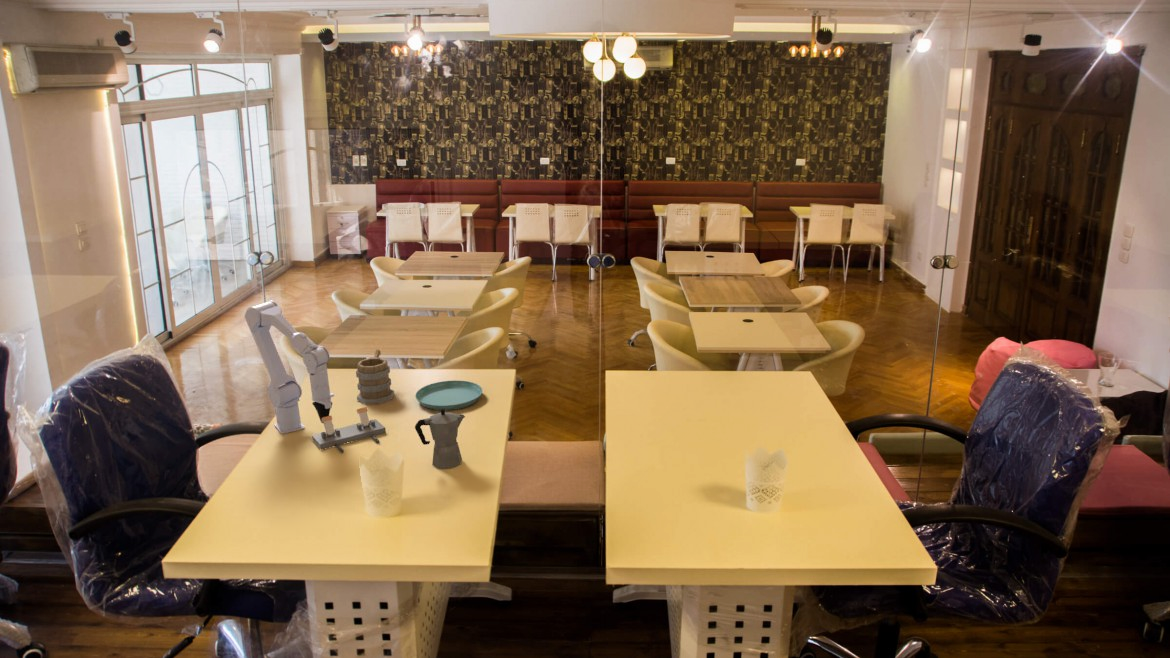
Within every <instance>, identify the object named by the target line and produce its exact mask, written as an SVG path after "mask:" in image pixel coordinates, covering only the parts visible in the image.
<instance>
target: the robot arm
mask: <svg viewBox="0 0 1170 658" xmlns="http://www.w3.org/2000/svg"><path fill="white" fill-rule="evenodd" d="M282 313H283V311H282V307H281V306H279V305H278V303H277V302H276V301H274V300H268V301H266V302H263V303H260V304H257V305H255V306H254V305H253V306H250V307H247V308H246V310H245V312H244V316H243V317H244V318H245V321H246V323H247V326H248V328H249V331H250V333H251V335H252V337H253V340H254V343H255V345H256V347H257V349H258V352H259V355H260V356H261V359H262V361H263V364H264V366H265V368H266V370H267V373H268V375H269V379H270V382H269V384H268V386H267V388H266V390H267V393H268V400H269V401H270V403H271V404H272V406H273V407H274V411H275V418H276V423H274V426H275V428H276V429H277V430H278V432H279V433H280V434H281V435H283V434H284V435H285V434H288V433H290V432H296V431H299V430H304V429H305V428H306V427H305V425H304V424H303V423H302V421H301V415H300V407H299V402H300V398H301V397H302V394H303V392H302V387H301V385H300V384H299V383H298V381H297V380H296V378H295V376H293V375H291V374H288V373H287V371H286V369H285V366H284V364H283V361H282V359H281V357H280V353H279V352H278V349H277V347H276V345H275V341H274V339H273V337H272V335H271V333H270V330H271V327H274V328H275V329H276V330H278V331H279V332H280V333H281V334H282V335H284V336H285V337H286V338H288V339H289V345H290V346H291V347H292V348H293V349H294V350H295V351H296V352H297V353H298V354H299V355H300V356H301V357H302V361H303V364H304V366H305V367H306V370H307V373H308V376H309V381H310V389H311V400H312V405H313V407H314V408H315V410H316V413H317V415H318V418H319V421H320V423H322V419H321V418H323V417H327V416H330V412H331V409H332V407H333V401H332V398H333V397H335V394H334V393H333V392H331V391H330V390H331V388H330V382H329V375H328V366H327V363H329V360H330V353H329V351H328V349H326V347H325V346H323V345H318V344H316V343H315V342H314V341H312V339H310V338H309V337H308V335H307V334H306V333H304V332H298V331H297V330H296V329H295V327H293V325H292V324H291V323H290V322H289V320H287V318H286V317H285V316H284V314H282Z"/></svg>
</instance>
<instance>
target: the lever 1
mask: <svg viewBox="0 0 1170 658" xmlns="http://www.w3.org/2000/svg"><path fill="white" fill-rule="evenodd" d="M321 419H322V422H321V424H323V426H324V430H325V432H326V434H327V437H328V436H332V435H335V432H334V430H335V428H334V425H333V417H332V415H329V416H327V417H323V418H321Z"/></svg>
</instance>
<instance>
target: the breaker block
mask: <svg viewBox="0 0 1170 658" xmlns="http://www.w3.org/2000/svg"><path fill="white" fill-rule="evenodd" d="M369 422H370V426H368V427H364V428H363V427H362V424H361V422H358V423H356V424H351V425H348V426H342V427H338V428H334V432H335V435H332V436H328V437H327V434H326V431H322V432H319V433H314V434H312V435H311V440H313V441H312V442H313V443H314V444H315V446H317V448H320V449H321V450H320V449H319V450H320V451H323V450H326V449H325V448H327V449H330V448H329V447H331V448H333V447H332V446H334V447H335V448H336V449H337V450H338V451H339V452H340V453H341V454H343V453H344V451H345V450H344V449H343V448H342V447H341V446H342V445H344V443H346V444H348V443H347V442H350V443H352V442H351V441H354V442H356V440H357V441H360V440H361V441H362V440H365V439H368V438H371V439H372V440H373V441H374V442H375V443H376V444H380V440H379V439H378V438H377V436H380V435H383V434H384V435H385V434H387V432H386V431H387V430H386V427H385V426H384V425H383V424H382V423H381V422H379V421H378V420H377V419H371V420H370V419H369ZM341 444H342V445H341ZM322 449H323V450H322Z"/></svg>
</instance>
